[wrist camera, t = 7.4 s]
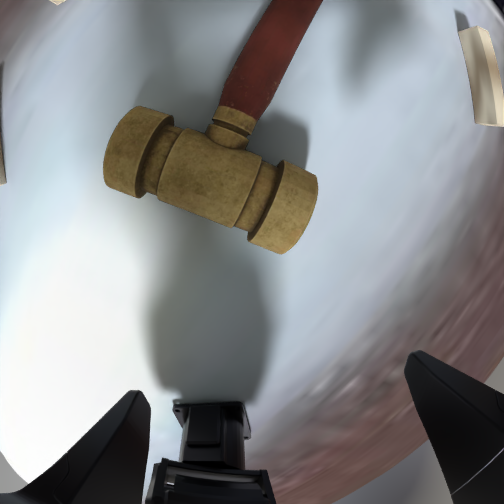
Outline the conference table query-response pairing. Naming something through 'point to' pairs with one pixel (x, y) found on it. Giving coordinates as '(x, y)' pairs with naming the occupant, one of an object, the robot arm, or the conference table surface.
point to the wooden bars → (480, 75)
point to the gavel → (225, 145)
